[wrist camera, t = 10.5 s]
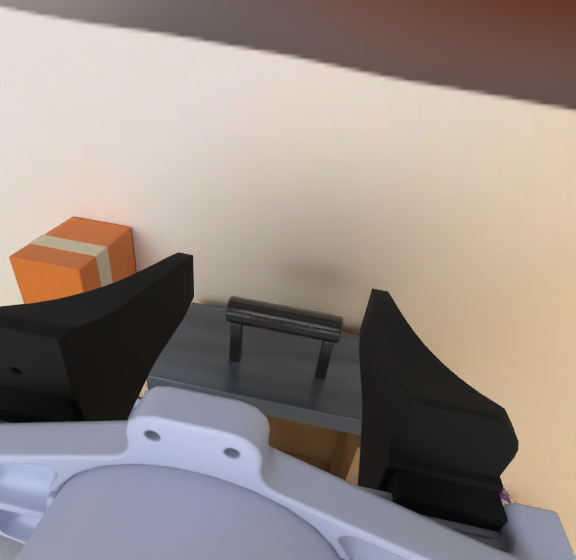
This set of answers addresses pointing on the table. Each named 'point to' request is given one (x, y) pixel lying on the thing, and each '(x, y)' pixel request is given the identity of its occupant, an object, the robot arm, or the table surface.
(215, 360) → the drawer
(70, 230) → the snack box
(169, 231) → the table surface
